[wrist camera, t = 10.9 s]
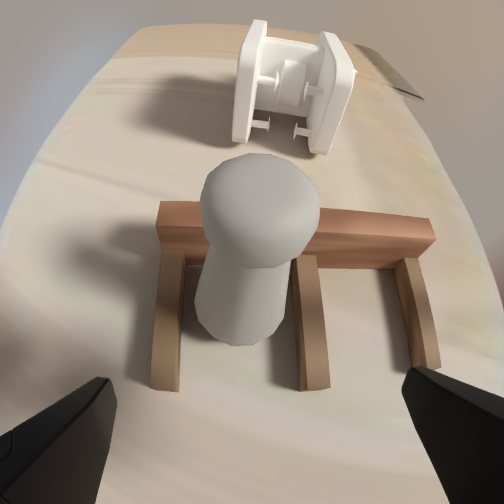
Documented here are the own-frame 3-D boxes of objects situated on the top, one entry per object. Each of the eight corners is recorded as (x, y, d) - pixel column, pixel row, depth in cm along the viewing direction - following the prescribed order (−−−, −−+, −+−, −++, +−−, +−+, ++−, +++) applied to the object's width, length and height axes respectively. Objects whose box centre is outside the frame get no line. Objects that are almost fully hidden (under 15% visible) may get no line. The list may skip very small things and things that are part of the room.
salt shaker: (197, 353, 19) (164, 261, 8) (196, 277, 22) (180, 130, 10) (283, 350, 19) (369, 258, 8) (274, 275, 22) (326, 136, 11)
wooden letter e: (426, 372, 19) (467, 357, 15) (156, 390, 17) (136, 383, 13) (400, 250, 25) (428, 218, 21) (169, 241, 23) (160, 201, 19)
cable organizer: (245, 88, 37) (254, 14, 27) (318, 101, 37) (338, 30, 27) (228, 153, 29) (236, 49, 19) (329, 169, 29) (365, 74, 19)
